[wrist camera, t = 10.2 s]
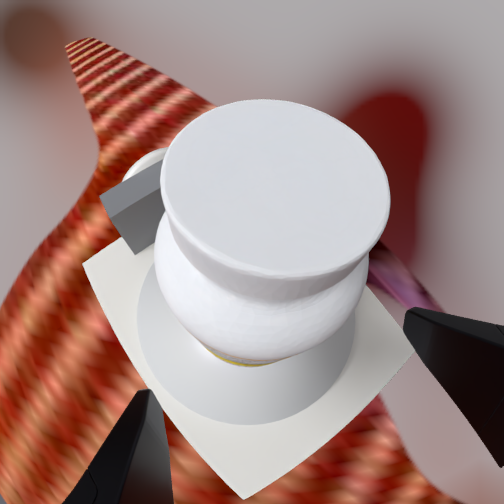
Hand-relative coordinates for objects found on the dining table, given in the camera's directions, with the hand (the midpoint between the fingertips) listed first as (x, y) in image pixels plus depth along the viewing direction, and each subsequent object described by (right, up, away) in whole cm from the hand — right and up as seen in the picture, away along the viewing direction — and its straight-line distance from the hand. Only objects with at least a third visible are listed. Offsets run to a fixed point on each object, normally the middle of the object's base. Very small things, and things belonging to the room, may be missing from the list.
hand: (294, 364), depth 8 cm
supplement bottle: (-2, 0, +9) cm, 9 cm away
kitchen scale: (-2, -2, +12) cm, 12 cm away
